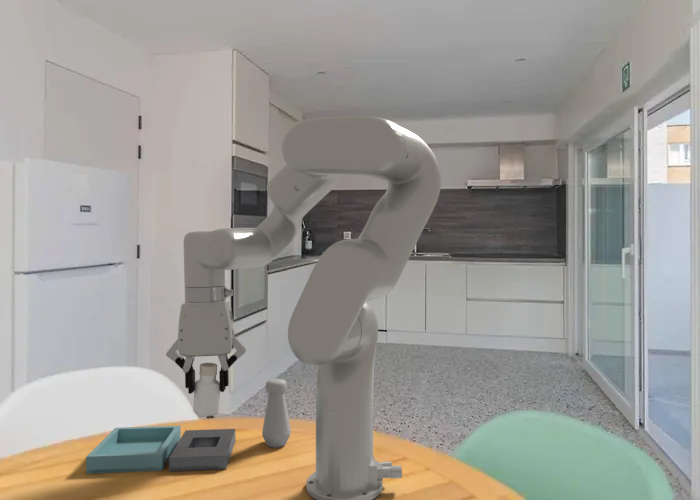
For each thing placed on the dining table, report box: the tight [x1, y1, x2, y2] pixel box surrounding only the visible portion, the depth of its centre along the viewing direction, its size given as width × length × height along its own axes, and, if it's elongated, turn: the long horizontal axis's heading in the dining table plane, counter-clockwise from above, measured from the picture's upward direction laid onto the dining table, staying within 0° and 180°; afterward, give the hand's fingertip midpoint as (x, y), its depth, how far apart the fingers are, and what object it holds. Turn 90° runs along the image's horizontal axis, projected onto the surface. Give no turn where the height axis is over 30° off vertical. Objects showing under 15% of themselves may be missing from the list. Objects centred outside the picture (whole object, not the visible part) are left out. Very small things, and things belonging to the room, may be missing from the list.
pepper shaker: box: [192, 362, 221, 418], centre depth 101 cm, size 4×4×10 cm
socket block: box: [168, 428, 236, 473], centre depth 102 cm, size 10×14×2 cm
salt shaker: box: [261, 378, 291, 449], centre depth 107 cm, size 6×6×13 cm
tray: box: [85, 425, 182, 475], centre depth 101 cm, size 13×15×3 cm
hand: (207, 390), depth 101 cm, fingers closed on pepper shaker, 5 cm apart
